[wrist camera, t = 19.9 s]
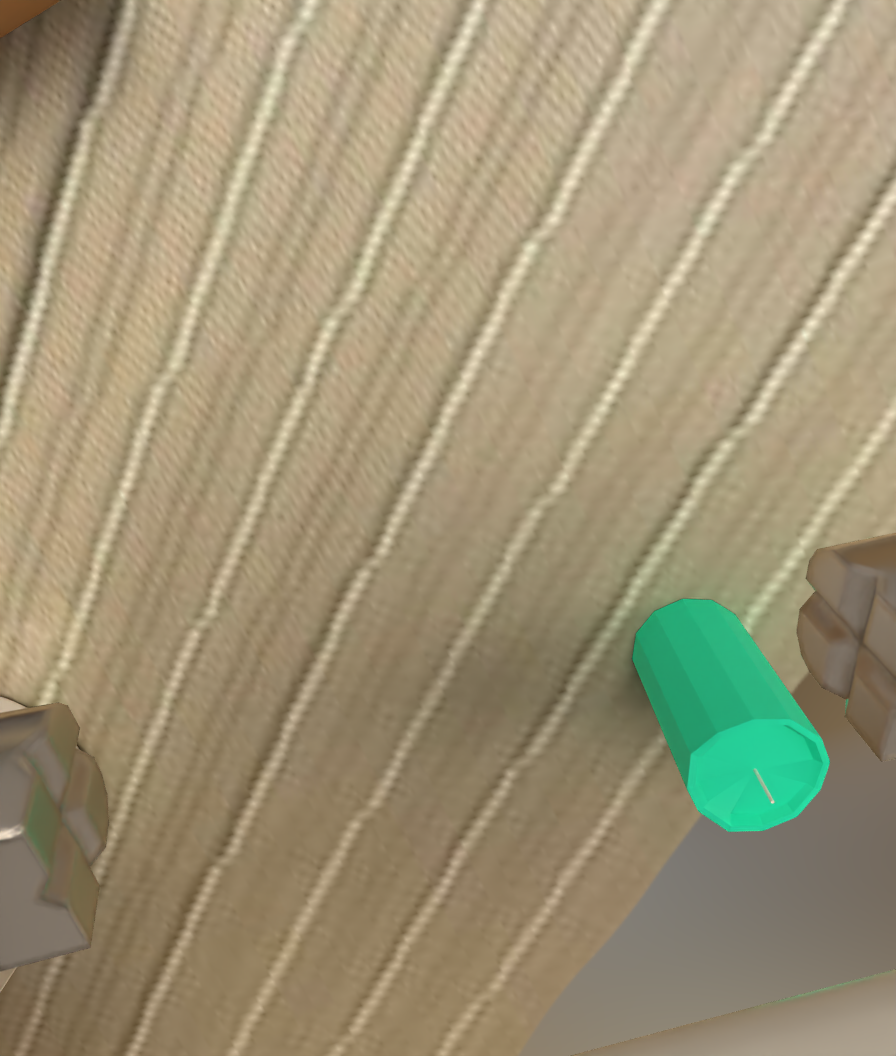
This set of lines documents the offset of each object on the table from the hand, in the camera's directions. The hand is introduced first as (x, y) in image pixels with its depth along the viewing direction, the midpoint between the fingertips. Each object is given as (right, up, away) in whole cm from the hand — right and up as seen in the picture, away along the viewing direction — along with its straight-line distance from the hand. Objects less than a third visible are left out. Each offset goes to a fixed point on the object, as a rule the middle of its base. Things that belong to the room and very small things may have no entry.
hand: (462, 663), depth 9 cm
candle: (+13, -5, +36) cm, 39 cm away
